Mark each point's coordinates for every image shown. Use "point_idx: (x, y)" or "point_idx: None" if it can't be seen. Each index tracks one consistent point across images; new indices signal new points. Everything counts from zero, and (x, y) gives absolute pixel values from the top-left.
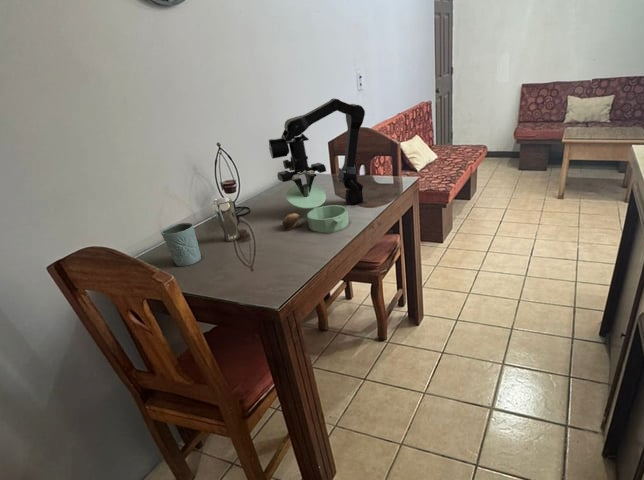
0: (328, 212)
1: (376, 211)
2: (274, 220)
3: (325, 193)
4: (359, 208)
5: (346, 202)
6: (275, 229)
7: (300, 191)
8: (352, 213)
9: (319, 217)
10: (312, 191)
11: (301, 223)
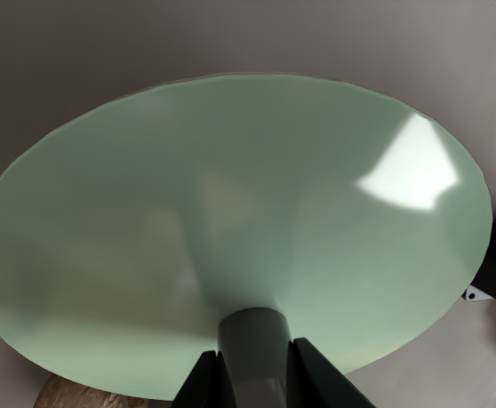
0: None
1: (487, 402)
2: None
3: (431, 324)
4: (468, 329)
5: None
6: None
7: (187, 385)
8: (408, 366)
9: None
10: (351, 294)
11: (148, 400)
